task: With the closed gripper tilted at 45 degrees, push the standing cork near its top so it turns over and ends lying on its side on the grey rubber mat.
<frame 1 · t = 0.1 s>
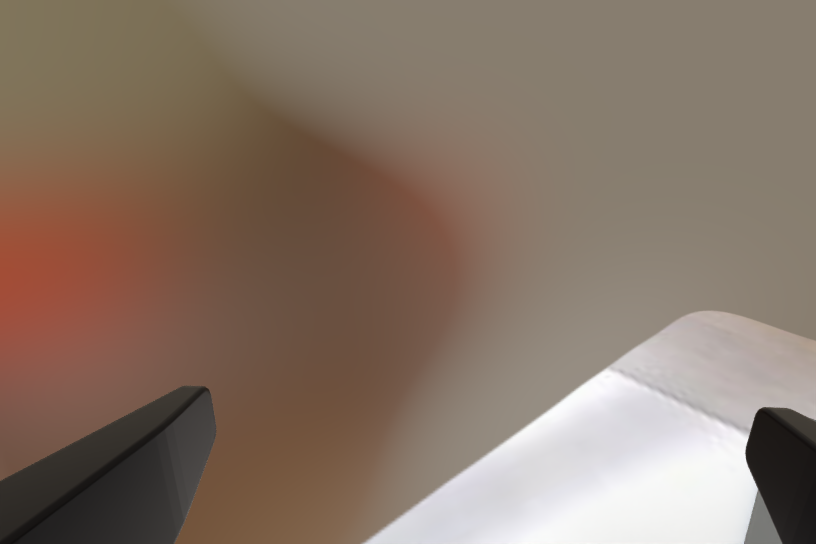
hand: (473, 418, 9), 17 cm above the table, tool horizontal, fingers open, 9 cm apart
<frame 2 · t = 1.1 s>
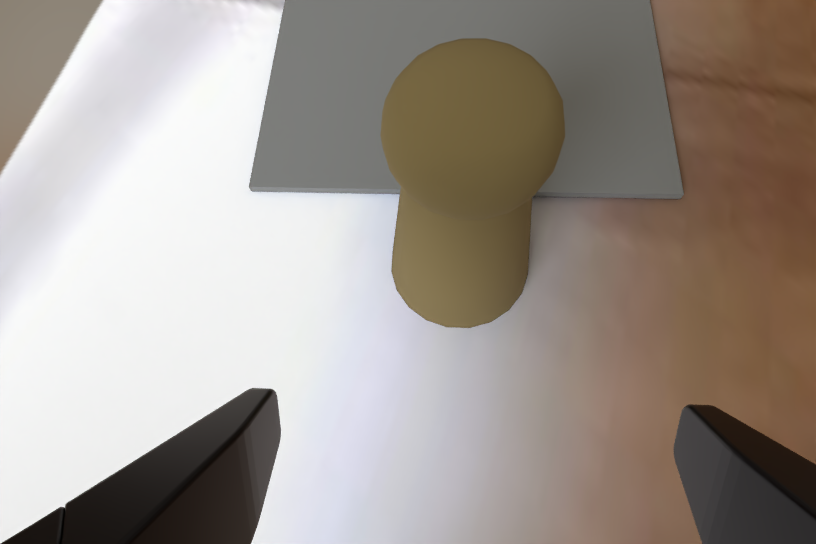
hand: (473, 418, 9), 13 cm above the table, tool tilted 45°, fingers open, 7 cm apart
rubber mat: (462, 64, 29), on the table
cork: (458, 264, 24), on the table
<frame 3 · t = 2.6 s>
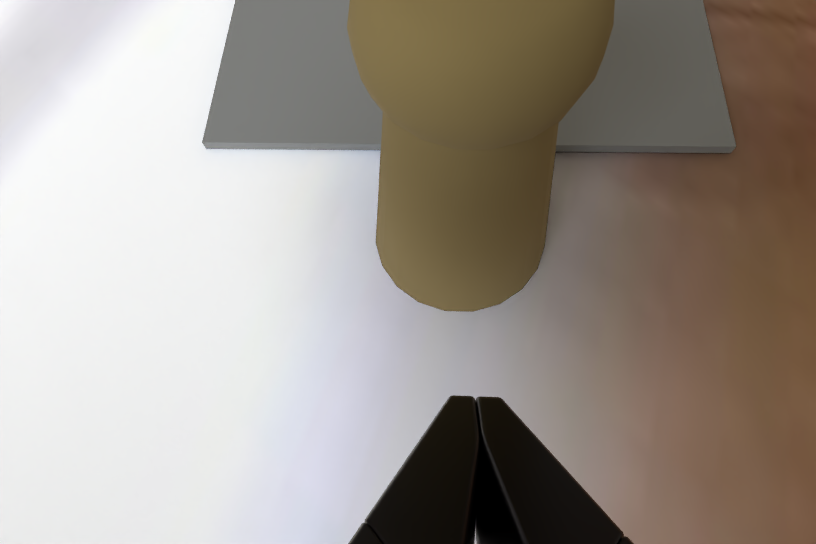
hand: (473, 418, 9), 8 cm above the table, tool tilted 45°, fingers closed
cork: (459, 234, 20), on the table
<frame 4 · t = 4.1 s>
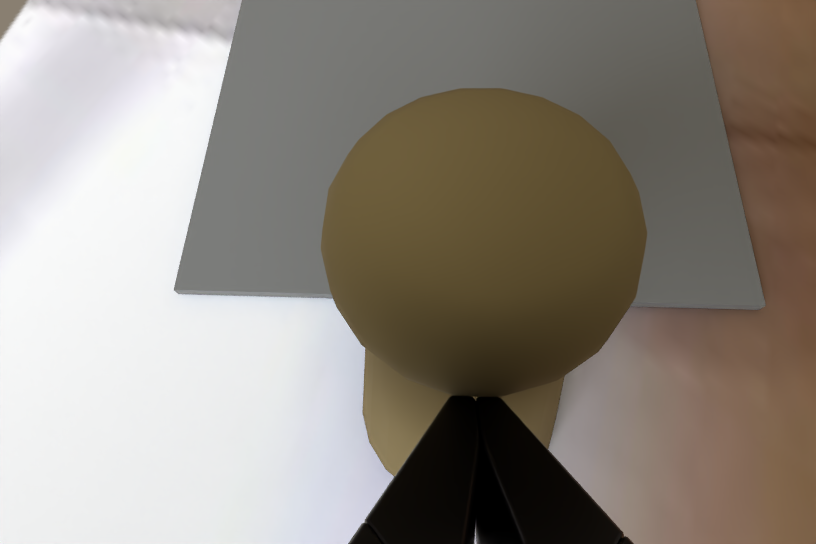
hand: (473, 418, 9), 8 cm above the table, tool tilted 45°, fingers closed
rubber mat: (461, 116, 22), on the table
cork: (457, 403, 17), on the table
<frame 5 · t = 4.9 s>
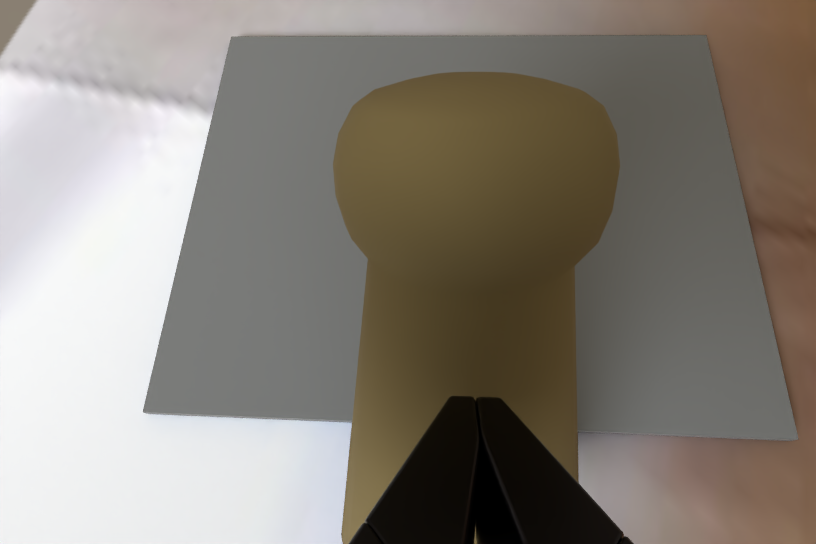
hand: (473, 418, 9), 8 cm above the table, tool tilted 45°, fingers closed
rubber mat: (460, 205, 20), on the table
cork: (458, 530, 14), point 2 cm above the table
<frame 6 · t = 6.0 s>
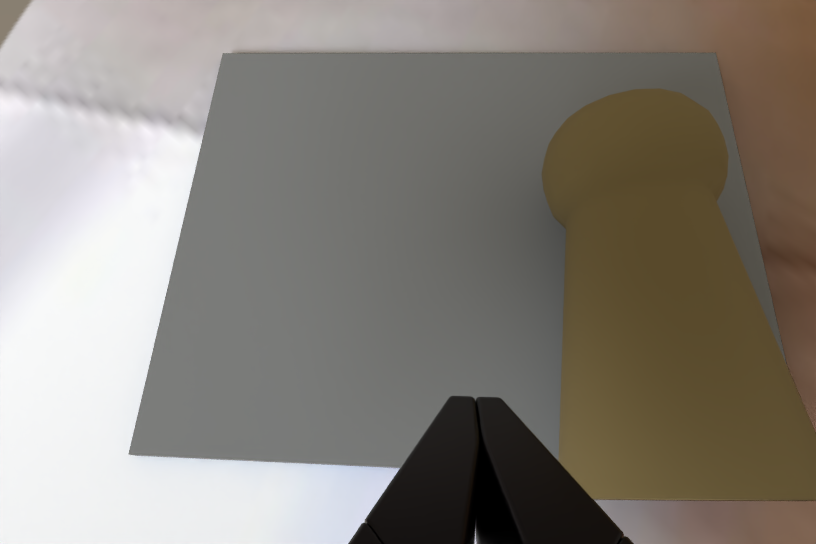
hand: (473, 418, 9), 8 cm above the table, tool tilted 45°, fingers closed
rubber mat: (460, 232, 19), on the table
cork: (689, 508, 13), point 3 cm above the table, touching rubber mat
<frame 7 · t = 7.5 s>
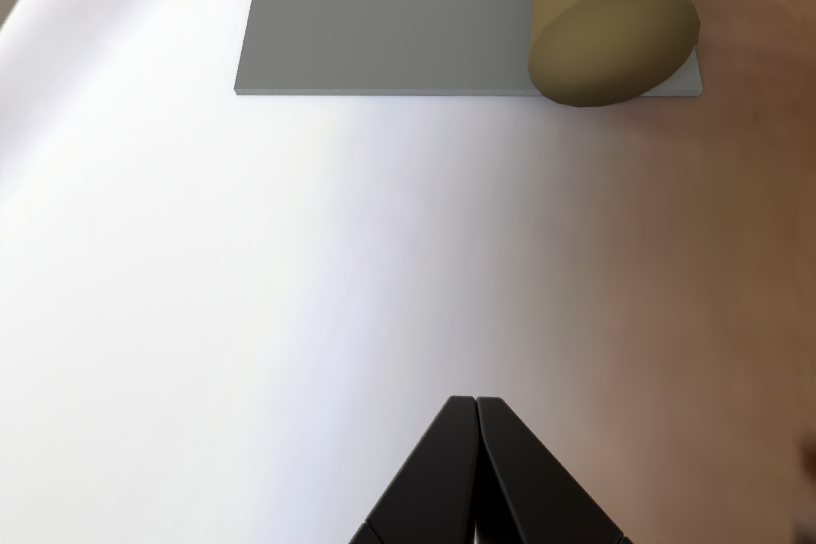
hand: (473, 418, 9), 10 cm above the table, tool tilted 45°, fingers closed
cork: (610, 58, 20), point 3 cm above the table, touching rubber mat
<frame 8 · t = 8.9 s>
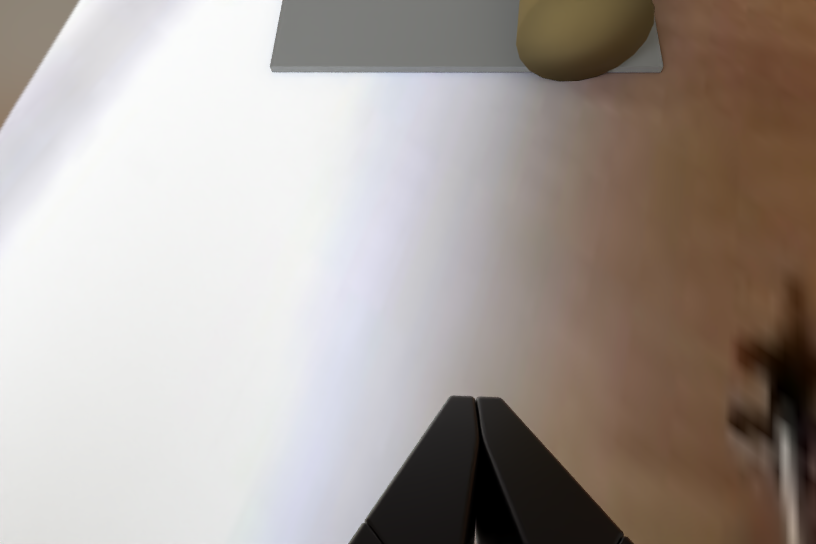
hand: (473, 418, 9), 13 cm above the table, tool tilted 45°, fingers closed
cork: (583, 37, 25), point 3 cm above the table, touching rubber mat
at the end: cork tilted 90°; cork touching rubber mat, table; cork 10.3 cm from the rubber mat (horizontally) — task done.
